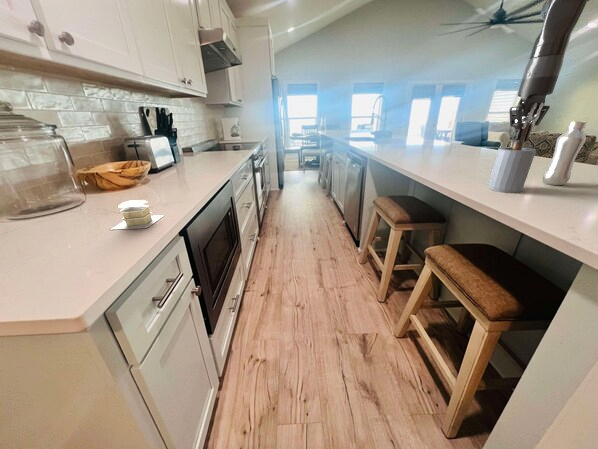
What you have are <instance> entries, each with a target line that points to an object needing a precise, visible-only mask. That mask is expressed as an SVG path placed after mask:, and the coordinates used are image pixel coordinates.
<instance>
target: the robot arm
mask: <svg viewBox="0 0 598 449" xmlns="http://www.w3.org/2000/svg"><path fill="white" fill-rule="evenodd" d="M588 2H590V0H545V1H544V2H543V5H542V7H541V10H540V17H541V19H542V20H543V23H542V27H541V30H540V32H539V34H538V35H537V36H536V38H535V40H534V42H533V45H532V48H531V51H530V55H529V58H528V61H527V64H526V66H525V69H524V71H523V75H522V79H521V81H520V84H519V88H518V91H517V97H520V99H519V101H518V102H517V105H516V106H511V107H510V108H509V112H508V113H509V126H510V127H511V128H513V129H514V132H513V135H512V137H511V142H512V143H514V142H520V141H521V140H522V137H523V133H524V130H525V129H524V128H525V127H526V125H527V124H529V127H528V130H527V133H526V137H525V140H524V142H527V141H528V140H529V138H530V134H531V131H532V129H534V127H537V126H539V125H540V124H541V122H542V120H543V119H544V118H545V116H546V115H547V113H548V111H549V110H550V109H551V106H550V105H546V97H547V96H551V95H552V94H553V93H554V91H555V87H556V85H557V82H558V79H559V76H560V73H561V71H562V67H563V64H564V58H565V55H566V52H567V49H568V47H569V43H570V40H571V37H572V34H573V31H574V30H575V27H576V26H577V24H578V22H579V20H580V17H581V15H582V13H583V12H584V10H585V7H586V5H587V4H588Z"/></svg>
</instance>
